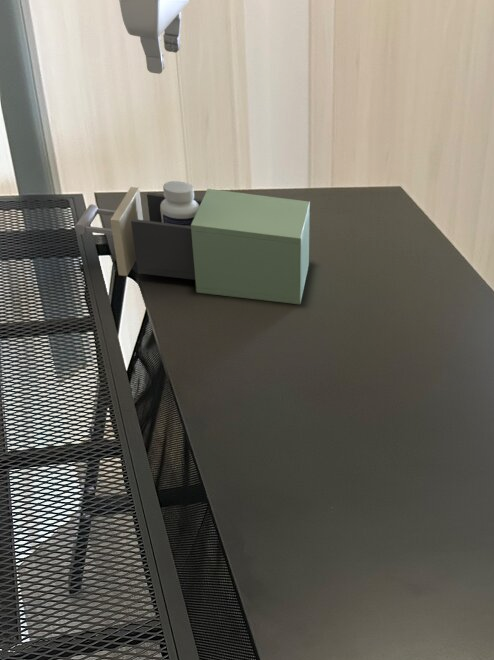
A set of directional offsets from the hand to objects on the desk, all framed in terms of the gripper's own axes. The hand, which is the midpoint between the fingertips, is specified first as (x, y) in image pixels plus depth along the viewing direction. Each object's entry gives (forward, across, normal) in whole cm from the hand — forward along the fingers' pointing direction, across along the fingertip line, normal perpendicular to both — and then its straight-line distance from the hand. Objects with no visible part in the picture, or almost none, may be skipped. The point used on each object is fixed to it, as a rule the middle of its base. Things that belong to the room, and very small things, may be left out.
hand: (164, 60), depth 108 cm
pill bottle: (+24, +2, +1) cm, 25 cm away
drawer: (+25, +3, -3) cm, 26 cm away
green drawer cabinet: (+26, +2, +11) cm, 28 cm away
